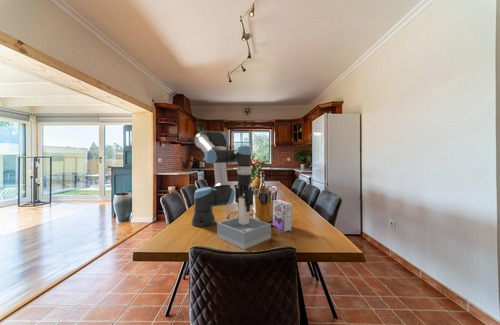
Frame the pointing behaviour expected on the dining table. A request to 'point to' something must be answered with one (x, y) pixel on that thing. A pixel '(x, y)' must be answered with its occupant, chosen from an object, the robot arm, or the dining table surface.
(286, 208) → the candy box
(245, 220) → the connector
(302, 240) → the dining table surface
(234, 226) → the walled box
